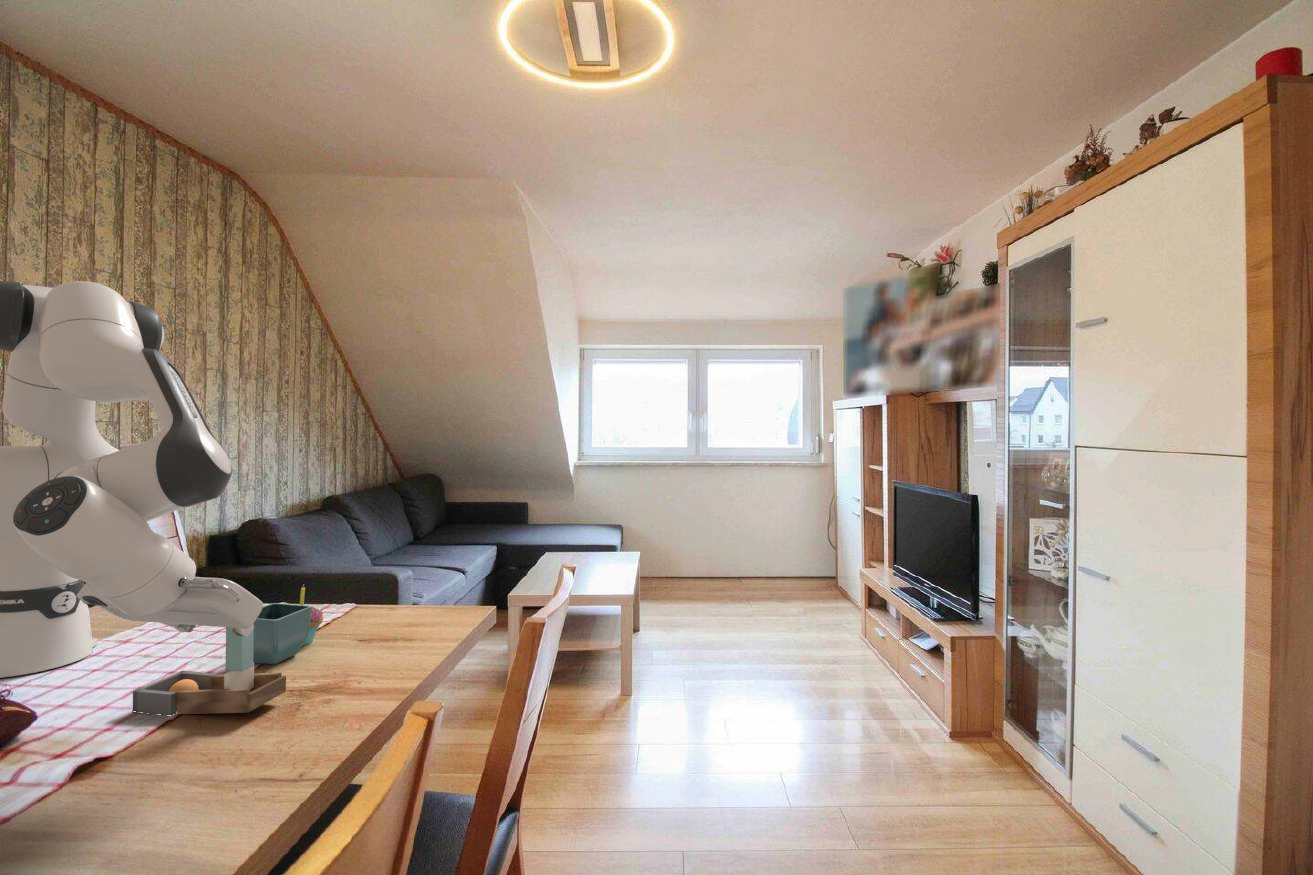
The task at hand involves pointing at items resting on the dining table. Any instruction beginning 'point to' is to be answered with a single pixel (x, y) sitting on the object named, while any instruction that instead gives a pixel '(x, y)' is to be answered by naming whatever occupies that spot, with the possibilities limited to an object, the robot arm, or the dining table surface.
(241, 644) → the rectangular block
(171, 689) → the ball
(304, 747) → the dining table surface
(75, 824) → the dining table surface
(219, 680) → the hexagonal shallow dish
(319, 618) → the cupcake
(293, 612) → the flower pot
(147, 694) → the grey low frame
